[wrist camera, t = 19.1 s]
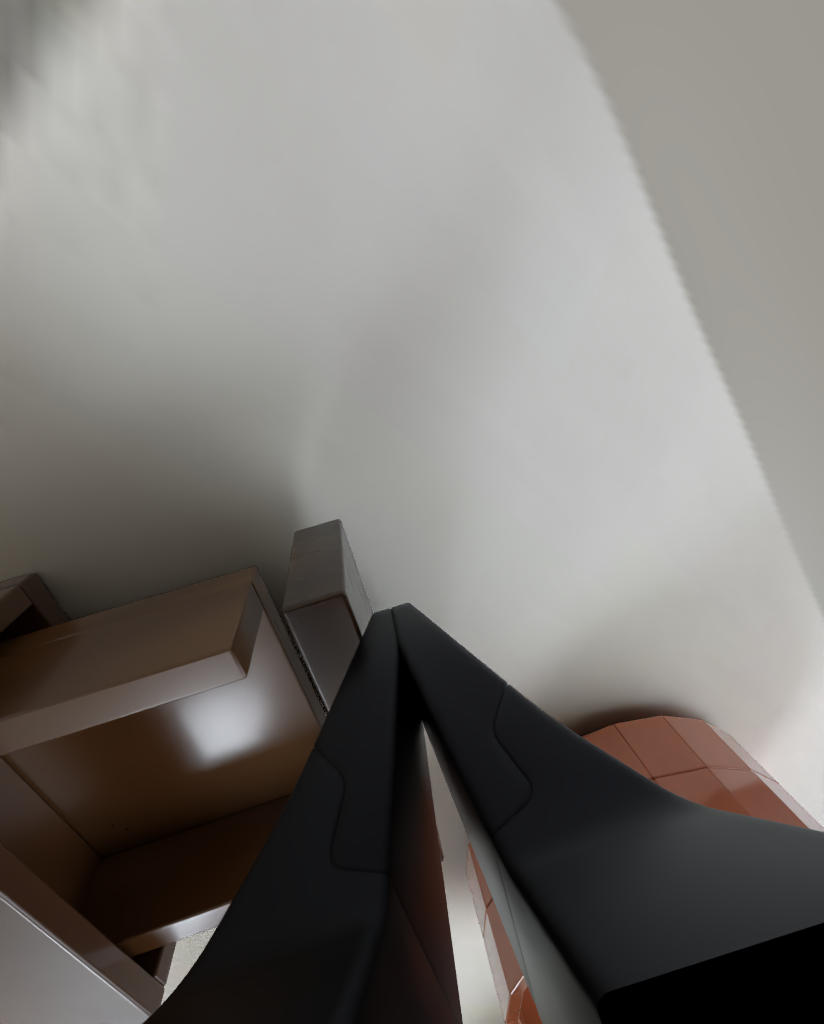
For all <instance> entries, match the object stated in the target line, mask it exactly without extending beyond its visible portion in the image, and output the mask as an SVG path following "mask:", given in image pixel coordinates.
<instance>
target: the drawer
mask: <svg viewBox="0 0 824 1024" xmlns="http://www.w3.org/2000/svg"><path fill="white" fill-rule="evenodd" d="M282 614H283V616H284V618H285V620H286V622H287V624H288V627H289V629H290V631H291V633H292V635H293V638H294V640H295V642H296V644H297V646H298V649H299V651H300V653H301V655H302V657H303V660H304V662H305V664H306V666H307V668H308V671H309V673H310V675H311V677H312V679H313V681H314V684H315V686H316V688H317V690H318V692H319V695H320V697H321V699H322V701H323V703H324V706H325V708H326V710H327V712H329V710H330V708H331V706H332V704H333V701H334V699H335V697H336V695H337V692H338V690H339V688H340V686H341V683H342V681H343V679H344V677H345V674H346V672H347V670H348V668H349V665H350V663H351V661H352V659H353V656H354V654H355V652H356V650H357V647H358V645H359V643H360V641H361V638H362V636H363V634H364V632H365V630H366V627H367V625H368V623H369V621H370V618H371V616H372V615H373V612H372V609H371V606H370V604H369V601H368V598H367V595H366V592H365V589H364V586H363V583H362V580H361V577H360V574H359V572H358V569H357V566H356V563H355V560H354V557H353V554H352V551H351V548H350V545H349V542H348V540H347V537H346V534H345V531H344V528H343V525H342V522H341V521H340V520H339V519H337V520H333V521H330V522H327V523H323V524H320V525H316V526H313V527H310V528H306V529H303V530H299V531H296V532H295V534H294V540H293V546H292V552H291V558H290V564H289V570H288V576H287V582H286V588H285V594H284V600H283V606H282ZM325 719H326V715H325V713H324V711H323V709H322V707H321V705H320V702H319V700H318V698H317V696H316V694H315V692H314V689H313V687H312V685H311V683H310V681H309V679H308V676H307V674H306V672H305V670H304V668H303V666H302V663H301V661H300V659H299V657H298V655H297V653H296V650H295V648H294V646H293V644H292V642H291V640H290V637H289V635H288V633H287V631H286V629H285V627H284V624H283V622H282V620H281V618H280V616H279V614H278V611H277V609H276V607H275V605H274V603H273V601H272V598H271V596H270V594H269V592H268V590H267V588H266V585H265V583H264V581H263V579H262V577H261V575H260V572H259V570H258V568H257V567H256V566H253V567H250V568H246V569H243V570H240V571H236V572H233V573H230V574H226V575H223V576H220V577H216V578H213V579H210V580H206V581H203V582H199V583H196V584H193V585H189V586H186V587H183V588H179V589H176V590H173V591H169V592H166V593H163V594H159V595H156V596H153V597H149V598H146V599H143V600H139V601H136V602H132V603H129V604H126V605H122V606H119V607H116V608H112V609H109V610H106V611H102V612H99V613H96V614H92V615H89V616H86V617H82V618H79V619H75V620H72V621H69V622H65V623H62V624H59V625H55V626H52V627H49V628H45V629H42V630H39V631H35V632H32V633H29V634H25V635H22V636H18V637H15V638H12V639H8V640H5V641H2V642H0V842H1V843H2V844H3V845H4V846H5V847H6V848H7V849H8V850H10V851H11V852H12V853H13V854H14V855H15V856H16V857H18V858H19V859H20V860H21V861H22V862H23V863H24V864H25V865H27V866H28V867H29V868H30V869H31V870H32V871H33V872H34V873H36V874H37V875H38V876H39V877H40V878H41V879H42V880H43V881H45V882H46V883H47V884H48V885H49V886H50V887H51V888H52V889H54V890H55V891H56V892H57V893H58V894H59V895H60V896H62V897H63V898H64V899H65V900H66V901H67V902H68V903H69V904H71V905H72V906H73V907H74V908H75V909H76V910H77V911H78V912H80V913H81V914H82V915H83V916H84V917H85V918H86V919H87V920H89V921H90V922H91V923H92V924H93V925H94V926H95V927H97V928H98V929H99V930H100V931H101V932H102V933H103V934H104V935H106V936H107V937H108V938H109V939H110V940H111V941H112V942H113V943H115V944H116V945H117V946H118V947H119V948H120V949H121V950H122V951H124V952H125V953H126V954H127V955H128V956H129V957H130V958H131V957H133V956H136V955H139V954H142V953H145V952H147V951H150V950H153V949H156V948H158V947H161V946H164V945H167V944H170V943H172V942H175V941H178V940H181V939H184V938H186V937H189V936H192V935H195V934H198V933H200V932H203V931H206V930H209V929H212V928H214V927H217V926H218V925H219V923H220V921H221V920H222V918H223V916H224V914H225V913H226V911H227V909H228V907H229V905H230V904H231V902H232V900H233V898H234V897H235V895H236V893H237V891H238V890H239V888H240V886H241V884H242V883H243V881H244V879H245V877H246V875H247V874H248V872H249V870H250V868H251V867H252V865H253V863H254V861H255V860H256V858H257V856H258V854H259V853H260V851H261V849H262V847H263V845H264V844H265V842H266V840H267V838H268V837H269V835H270V833H271V831H272V829H273V827H274V826H275V824H276V822H277V820H278V818H279V816H280V814H281V813H282V811H283V809H284V807H285V805H286V803H287V801H288V799H289V797H290V795H291V793H292V791H293V789H294V787H295V785H296V783H297V781H298V779H299V776H300V774H301V772H302V770H303V768H304V766H305V764H306V761H307V759H308V757H309V755H310V752H311V750H312V749H314V744H315V742H316V739H317V737H318V735H319V733H320V730H321V728H322V726H323V724H324V721H325ZM436 827H437V825H436ZM437 835H438V842H439V850H440V857H441V862H442V861H443V858H444V857H443V852H442V848H441V843H440V839H439V834H438V830H437Z"/></svg>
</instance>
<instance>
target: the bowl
mask: <svg viewBox="0 0 824 1024" xmlns="http://www.w3.org/2000/svg"><path fill="white" fill-rule="evenodd" d="M581 737H583V738H584V739H586V740H588V741H589V742H591V743H592V744H594V745H595V746H597V747H599V748H600V749H602V750H603V751H605V752H607V753H608V754H610V755H611V756H613V757H614V758H616V759H618V760H619V761H621V762H622V763H624V764H626V765H627V766H629V767H630V768H632V769H634V770H635V771H637V772H638V773H640V774H641V775H643V776H645V777H646V778H648V779H649V780H651V781H653V782H654V783H656V784H658V785H659V786H661V787H663V788H664V789H666V790H668V791H670V792H672V793H674V794H676V795H678V796H680V797H683V798H685V799H687V800H690V801H692V802H695V803H698V804H700V805H703V806H706V807H710V808H714V809H718V810H723V811H727V812H732V813H737V814H742V815H746V816H751V817H756V818H761V819H765V820H770V821H775V822H779V823H784V824H789V825H794V826H798V827H803V828H808V829H813V830H817V831H822V832H824V828H823V827H822V826H821V825H820V824H819V823H818V822H817V821H816V820H815V819H814V818H813V817H812V816H811V815H810V814H809V813H808V812H807V811H806V810H805V809H804V808H803V807H802V806H801V805H800V804H799V803H798V802H797V801H796V800H795V799H794V798H793V797H792V796H791V795H790V794H789V793H788V792H787V791H786V790H785V789H784V788H783V787H782V786H781V785H779V783H778V782H777V781H776V780H775V779H774V778H773V777H772V776H771V775H770V774H769V773H768V772H767V771H766V770H765V769H764V768H763V767H762V766H761V765H760V764H759V763H758V762H757V761H756V760H755V759H754V758H753V757H752V756H751V755H750V754H749V753H748V752H747V751H746V750H745V749H744V748H743V747H742V746H741V745H740V744H739V743H738V742H737V741H736V740H735V739H734V738H733V737H732V736H731V735H729V734H727V733H726V732H724V731H722V730H720V729H718V728H716V727H715V726H713V725H711V724H709V723H707V722H705V721H703V720H700V719H693V718H683V717H673V716H655V717H649V718H643V719H638V720H632V721H626V722H621V723H615V724H614V725H610V726H607V727H605V728H602V729H600V730H597V731H594V732H591V733H589V734H586V735H583V736H581ZM466 874H467V878H468V882H469V886H470V890H471V894H472V897H473V901H474V905H475V909H476V913H477V917H478V921H479V925H480V928H481V932H482V936H483V939H484V944H485V948H486V952H487V956H488V960H489V964H490V968H491V971H492V975H493V979H494V983H495V987H496V991H497V995H498V999H499V1003H500V1006H501V1010H502V1014H503V1018H504V1022H505V1024H542V1021H541V1019H540V1016H539V1014H538V1011H537V1007H536V1004H535V1003H534V1001H533V998H532V996H531V993H530V991H529V988H528V986H527V983H526V981H525V978H524V976H523V973H522V971H521V968H520V966H519V963H518V961H517V958H516V956H515V953H514V951H513V948H512V946H511V943H510V941H509V938H508V936H507V933H506V931H505V928H504V926H503V923H502V920H501V918H500V915H499V913H498V910H497V908H496V905H495V903H494V900H493V898H492V895H491V893H490V890H489V888H488V885H487V883H486V880H485V878H484V875H483V873H482V870H481V868H480V865H479V863H478V860H477V858H476V855H475V853H474V850H473V848H472V845H471V843H470V841H469V844H468V856H467V871H466Z"/></svg>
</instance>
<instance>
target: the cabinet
mask: <svg viewBox="0 0 824 1024" xmlns="http://www.w3.org/2000/svg"><path fill="white" fill-rule="evenodd" d="M69 621H70V620H69V619H68V617H67V616H66V615H65V613H64V612H63V610H62V609H61V608H60V606H59V605H58V604H57V602H56V601H55V599H54V598H53V597H52V595H51V594H50V593H49V591H48V590H47V588H46V587H45V586H44V584H43V583H42V582H41V580H40V579H39V577H38V576H37V575H36V574H35V573H30V574H26V575H23V576H20V577H16V578H13V579H9V580H6V581H2V582H0V642H2V641H5V640H8V639H12V638H15V637H18V636H22V635H25V634H29V633H32V632H35V631H39V630H42V629H45V628H49V627H52V626H55V625H59V624H62V623H65V622H69ZM176 942H177V941H175V942H172V943H170V944H167V945H164V946H161V947H158V948H156V949H153V950H150V951H147V952H145V953H142V954H139V955H136V956H133V957H131V958H130V957H129V956H128V955H127V954H126V953H125V952H124V951H122V950H121V949H120V948H119V947H118V946H117V945H116V944H115V943H113V942H112V941H111V940H110V939H109V938H108V937H107V936H106V935H104V934H103V933H102V932H101V931H100V930H99V929H98V928H97V927H95V926H94V925H93V924H92V923H91V922H90V921H89V920H87V919H86V918H85V917H84V916H83V915H82V914H81V913H80V912H78V911H77V910H76V909H75V908H74V907H73V906H72V905H71V904H69V903H68V902H67V901H66V900H65V899H64V898H63V897H62V896H60V895H59V894H58V893H57V892H56V891H55V890H54V889H52V888H51V887H50V886H49V885H48V884H47V883H46V882H45V881H43V880H42V879H41V878H40V877H39V876H38V875H37V874H36V873H34V872H33V871H32V870H31V869H30V868H29V867H28V866H27V865H25V864H24V863H23V862H22V861H21V860H20V859H19V858H18V857H16V856H15V855H14V854H13V853H12V852H11V851H10V850H8V849H7V848H6V847H5V846H4V845H3V844H2V843H1V842H0V1024H142V1023H144V1022H145V1021H146V1020H147V1019H148V1018H149V1017H150V1016H151V1015H152V1014H153V1013H154V1012H155V1011H156V1010H157V1009H158V1008H159V1007H160V1006H161V1002H162V998H163V994H164V987H163V986H165V984H166V982H167V978H168V974H169V970H170V966H171V962H172V958H173V954H174V950H175V946H176Z"/></svg>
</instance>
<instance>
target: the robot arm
mask: <svg viewBox="0 0 824 1024" xmlns="http://www.w3.org/2000/svg"><path fill="white" fill-rule="evenodd" d="M422 722H423V723H422ZM423 724H424V727H425V730H426V732H427V735H428V737H429V740H430V742H431V745H432V747H433V750H434V752H435V755H436V757H437V760H438V762H439V765H440V767H441V770H442V772H443V775H444V777H445V780H446V782H447V785H448V787H449V790H450V792H451V795H452V797H453V800H454V802H455V805H456V807H457V810H458V812H459V815H460V818H461V820H462V823H463V825H464V828H465V830H466V833H467V835H468V838H469V840H470V843H471V845H472V848H473V850H474V853H475V855H476V858H477V860H478V863H479V865H480V868H481V870H482V873H483V875H484V878H485V880H486V883H487V885H488V888H489V890H490V893H491V895H492V898H493V900H494V903H495V905H496V908H497V910H498V913H499V915H500V918H501V920H502V923H503V926H504V928H505V931H506V933H507V936H508V938H509V941H510V943H511V946H512V948H513V951H514V953H515V956H516V958H517V961H518V963H519V966H520V968H521V971H522V973H523V976H524V978H525V981H526V983H527V986H528V988H529V991H530V993H531V996H532V998H533V1001H534V1003H535V1004H536V1007H537V1011H538V1014H539V1016H540V1019H541V1021H542V1024H824V832H822V831H817V830H813V829H808V828H803V827H798V826H794V825H789V824H784V823H779V822H775V821H770V820H765V819H761V818H756V817H751V816H746V815H742V814H737V813H732V812H727V811H723V810H718V809H714V808H710V807H706V806H703V805H700V804H698V803H695V802H692V801H690V800H687V799H685V798H683V797H680V796H678V795H676V794H674V793H672V792H670V791H668V790H666V789H664V788H663V787H661V786H659V785H658V784H656V783H654V782H653V781H651V780H649V779H648V778H646V777H645V776H643V775H641V774H640V773H638V772H637V771H635V770H634V769H632V768H630V767H629V766H627V765H626V764H624V763H622V762H621V761H619V760H618V759H616V758H614V757H613V756H611V755H610V754H608V753H607V752H605V751H603V750H602V749H600V748H599V747H597V746H595V745H594V744H592V743H591V742H589V741H588V740H586V739H584V738H583V737H581V736H580V735H578V734H576V733H575V732H573V731H572V730H570V729H569V728H567V727H566V726H564V725H563V724H561V723H560V722H558V721H557V720H555V719H554V718H552V717H551V716H549V715H548V714H547V713H545V712H544V711H543V710H541V709H540V708H539V707H537V706H536V705H535V704H533V703H532V702H531V701H529V700H528V699H527V698H526V697H524V696H523V695H522V694H521V693H519V692H518V691H517V690H516V689H515V688H513V687H512V686H511V685H508V684H507V682H506V681H504V680H503V679H502V678H501V677H500V676H498V675H497V674H496V673H495V672H493V671H492V670H491V669H490V668H489V667H487V666H486V665H485V664H484V663H482V662H481V661H480V660H479V659H478V658H476V657H475V656H474V655H473V654H471V653H470V652H469V651H468V650H467V649H465V648H464V647H463V646H462V645H460V644H459V643H458V642H457V641H456V640H454V639H453V638H452V637H451V636H449V635H448V634H447V633H446V632H444V631H443V630H442V629H441V628H440V627H438V626H437V625H436V624H435V623H433V622H432V621H431V620H430V619H429V618H427V617H426V616H425V615H424V614H422V613H421V612H420V611H419V610H418V609H416V608H415V607H414V606H413V605H411V604H410V603H405V604H402V605H399V606H396V607H393V608H392V609H386V610H383V611H379V612H376V613H374V614H373V615H372V616H371V618H370V621H369V623H368V625H367V627H366V630H365V632H364V634H363V636H362V638H361V641H360V643H359V645H358V647H357V650H356V652H355V654H354V656H353V659H352V661H351V663H350V665H349V668H348V670H347V672H346V674H345V677H344V679H343V681H342V683H341V686H340V688H339V690H338V692H337V695H336V697H335V699H334V701H333V704H332V706H331V708H330V710H329V712H328V715H327V717H326V719H325V721H324V724H323V726H322V728H321V730H320V733H319V735H318V737H317V739H316V742H315V744H314V749H312V750H311V752H310V755H309V757H308V759H307V761H306V764H305V766H304V768H303V770H302V772H301V774H300V776H299V779H298V781H297V783H296V785H295V787H294V789H293V791H292V793H291V795H290V797H289V799H288V801H287V803H286V805H285V807H284V809H283V811H282V813H281V814H280V816H279V818H278V820H277V822H276V824H275V826H274V827H273V829H272V831H271V833H270V835H269V837H268V838H267V840H266V842H265V844H264V845H263V847H262V849H261V851H260V853H259V854H258V856H257V858H256V860H255V861H254V863H253V865H252V867H251V868H250V870H249V872H248V874H247V875H246V877H245V879H244V881H243V883H242V884H241V886H240V888H239V890H238V891H237V893H236V895H235V897H234V898H233V900H232V902H231V904H230V905H229V907H228V909H227V911H226V913H225V914H224V916H223V918H222V920H221V921H220V923H219V925H218V927H217V928H216V930H215V932H214V934H213V935H212V937H211V939H210V940H209V942H208V944H207V945H206V947H205V949H204V950H203V952H202V953H201V955H200V956H199V958H198V959H197V961H196V962H195V964H194V965H193V967H192V968H191V970H190V971H189V972H188V974H187V975H186V976H185V978H184V979H183V980H182V982H181V983H180V984H179V985H178V987H177V988H176V989H175V990H174V992H173V993H172V994H171V995H170V996H169V997H168V998H167V1000H166V1001H165V1002H164V1003H163V1004H162V1005H161V1006H160V1007H159V1008H158V1009H157V1010H156V1011H155V1012H154V1013H153V1014H152V1015H151V1016H150V1017H149V1018H148V1019H147V1020H146V1021H145V1022H144V1023H142V1024H463V1022H462V1015H461V1007H460V1000H459V992H458V985H457V977H456V970H455V962H454V955H453V947H452V940H451V932H450V925H449V917H448V910H447V902H446V895H445V887H444V880H443V872H442V865H441V857H440V850H439V842H438V835H437V827H436V820H435V812H434V805H433V797H432V790H431V782H430V775H429V767H428V760H427V752H426V745H425V737H424V730H423Z"/></svg>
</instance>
